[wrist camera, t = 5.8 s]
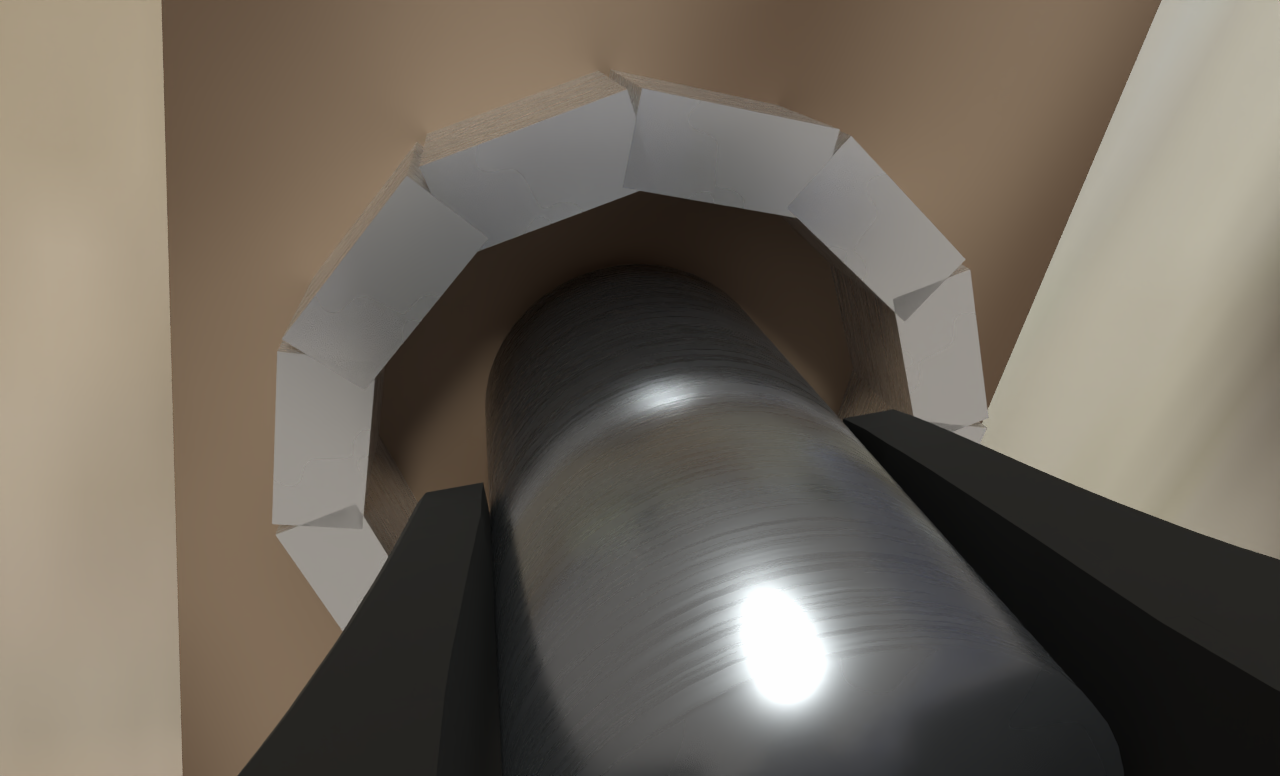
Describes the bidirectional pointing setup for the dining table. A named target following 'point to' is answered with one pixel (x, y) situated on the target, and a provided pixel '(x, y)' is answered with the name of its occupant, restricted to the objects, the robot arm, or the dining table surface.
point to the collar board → (564, 246)
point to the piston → (733, 568)
